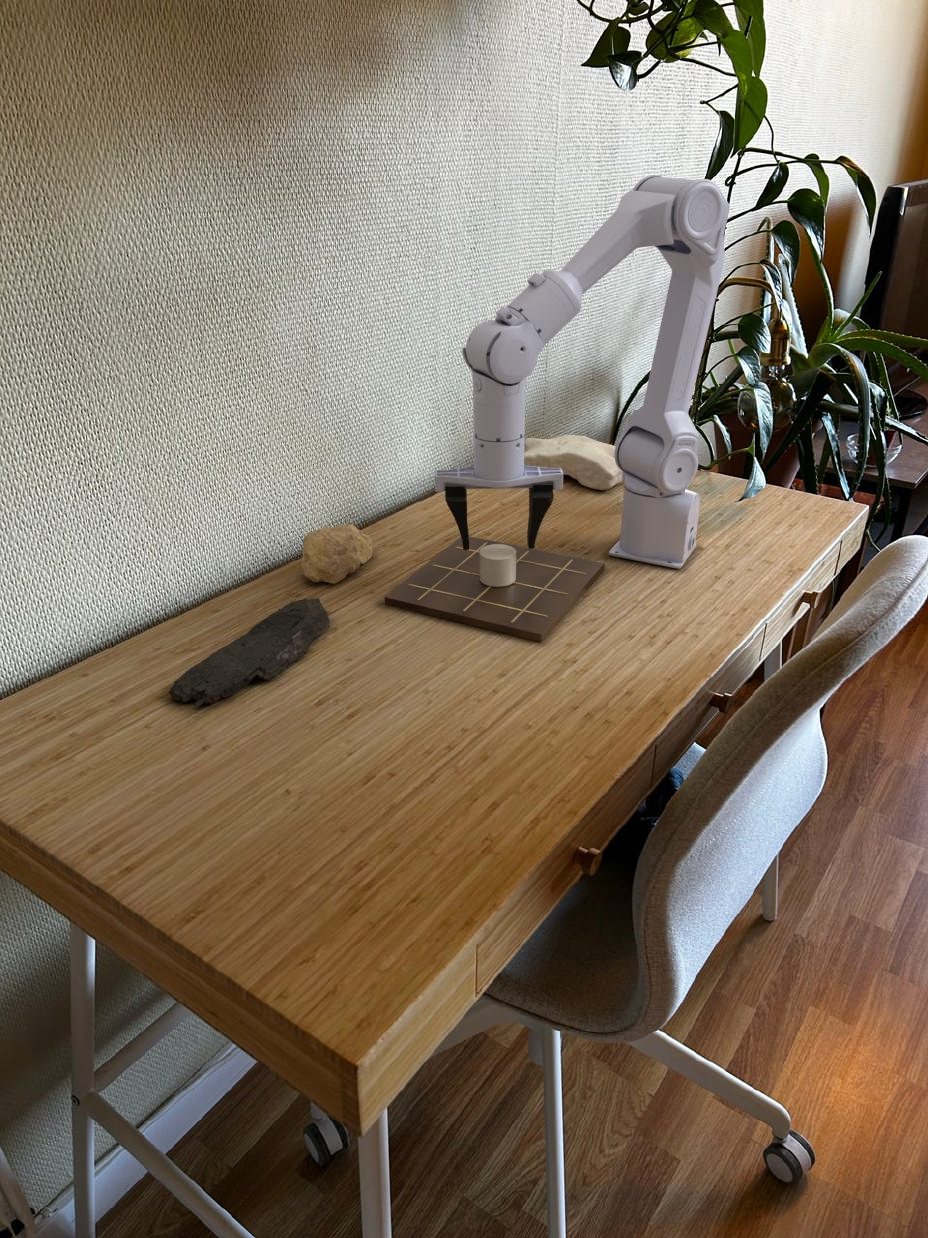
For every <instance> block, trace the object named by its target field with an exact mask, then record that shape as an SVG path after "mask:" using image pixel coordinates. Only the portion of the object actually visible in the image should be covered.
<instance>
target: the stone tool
mask: <svg viewBox="0 0 928 1238" xmlns="http://www.w3.org/2000/svg"><path fill="white" fill-rule="evenodd" d="M373 552H374V550H373V542H372V539H371V537H370V536H369V535H368V534H365V533H363V532H362V531H361V530H360V529H358V527H356V526H355V525H353V524H350V523H349V524H341V525H340V526H333V527H331V526H329V527H323V528H322V529H317V530H313V531H311V532H308V534H306V535H305V536H304V537H303V540H302V550H301V554H302V557H301V562H300V566H301V569H302V570H303V575H304V576H305V577H306V578H307V579H308V580H309V581H312V582H313V583H320V582H324V583H329V584H337V583H339V582H340V581H342V580H344V579H345V578H346V577H347V575H348V574H353V573H356V570H357V569H359V568H361V565H365V564H366V563H367V562H369V560H370V559H371V558H372V557H373Z"/></svg>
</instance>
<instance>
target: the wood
mask: <svg viewBox="0 0 928 1238" xmlns="http://www.w3.org/2000/svg"><path fill="white" fill-rule="evenodd" d="M320 599H321V598H319V597H315V598H302V599H298V600H293V601H290V602H289V603H287V604H286V605H284V606H282V607H281V608H278V610H277V611H274V612H273V613H271V614H269V615H268V616H267V617H265V618H264V619H262V620H261V621H260V622H258V623H256V624H255V625H254V626H253V627H251V628H250V630H249V631H248V632H247V633H245V634H243V635H240V637H238V638H236V639H234V640H233V641H232V642H230V643H228V644H226V645H224V646H222V647H221V648H219V649H217V650H216V651H214V652H213V653H211V654H210V655H209V656H206V658H204V659H202V660H201V661H200V662H199V663H197V664H194V666H192V667H190V668H189V669H187V670H186V671H184V673H183V674H182V675H181V676H179V678H177V679H176V680H174V682H173V685H172V686H171V688H170V689H169V690H168V693H169V695H170V696H171V698H172V699H174V700H175V701H176V702H182V703H183V704H184V703H187V702H188V703H189V702H190V701H193V700H194V701H195V703H194V704H193V705H194V706H193V709H195V710H198V708H199V707H200V706H202V705H204V704H206V705H213V704H215V703H216V702H218V701H220V700H221V699H223V698H226V697H227V698H228V697H231V696H233V695H236V694H237V693H238V692H239V691H241V690H242V689H244V688H245V687H247V686H248V685H249V684H250V683H251V682H252V681H253V680H255V679H257V678H258V679H261V680H263V681H269V680H271V679H274V678H276V677H277V676H278V675H279V674H281V673H282V672H283V671H285V669H286V668H288V667H289V666H290V665H291V664H293V663H294V662H296V661H298V659H300V658H301V657H302V656H303V655H304V654H306V653H307V651H308V650H309V649H308V648H309V647H310V645H311V644H312V643H313V642H314V640H316V638H317V637H318V636H320V635H321V634H322V633H323V632H324V631H326V630H327V629H328V628H330V624H331V620H330V617H329V615H328V611H327V610H326V609H325V607H324V606H323V604H322V603H321V600H320Z"/></svg>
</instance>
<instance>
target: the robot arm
mask: <svg viewBox="0 0 928 1238" xmlns="http://www.w3.org/2000/svg"><path fill="white" fill-rule="evenodd" d="M730 209H731V205H730V203H729V202H728V200H727V199H726V197H725V194H723V192H722V190H721V189H720V187H719V185H718V184H717V183H716V182H714V181H713V180H711V179H707V178H696V179H689V178H676V177H675V178H673V177H664V176H661V175H656V174H652V175H648V176H645V177H643V178H642V179H640V180H639V181H638V182H636V183H635V185H634V187H633V188H632V189H630V190H629V191H627V192H626V193H625V194H623V195H622V196H621V197H620V200H619V203H618V206H617V208H616V210H615V211H614V212H613V214H611V215H610V216H609V218H608V219H606V221H605V222H604V223H603V224H602V225H601V226H600V227H599V228H598V230H596V232H595V233H594V234H593V235H592V236H591V237H590V238H589V239H588V240H587V241H586V242H585V243H584V244H583V246H582V247H581V248H580V249H579V250H578V251H577V252H576V253H575V254H574V255H573V256H572V257H571V258H570V260H569V261H568V262H567V263H566V264H565V265H564V266H563V267H562V268H561V269H560V270H554V269H546V270H543V271H542V272H541V273H538V272H533V274H532V275H531V276H530V277H529V278H528V279H527V283H528V284H529V285H528V286H527V287H526V288H525V289H524V290H522V291H521V292H520V293H519V294H518V295H517V296H516V297H515V298H514V299H513V300H512V301H510V303H509V304H508V305H507V306H506V307H504V306H501V307H500V308H499V309H498V310H497V311H496V313H495V314H496V316H495V318H494V319H489V320H484V321H482V322H480V323H479V324H477V325H476V326H475V327H474V328H473V329H472V330H471V332H470V333H469V335H468V339H467V341H466V344H465V347H462V349H461V352H462V353H461V354H462V358H463V361H464V363H465V365H466V366H467V368H469V369H470V371H471V374H472V399H473V400H472V409H473V410H472V411H473V412H472V415H473V416H472V417H473V418H472V421H473V422H472V423H473V425H472V426H473V429H472V430H473V435H472V436H473V465H472V466H464V467H463V466H462V467H457V468H450V469H436V470H435V471H434V485H435V486H434V487H435V492H436V493H443V492H444V499H445V500H444V501H445V503H446V505H447V507H448V509H449V511H450V513H451V515H452V517H453V518H454V521H455V523H456V525H457V528H458V531H459V534H460V537H461V538H462V543H463V550H469V535H470V533H469V525H468V492H467V490H487V489H488V490H495V489H497V490H498V489H500V490H502V489H503V490H505V489H528V521H527V531H526V542H527V548H529V549H535V548H536V547H535V546H536V542H537V536H538V534H539V530H540V527H541V525H542V522H543V520H544V518H545V516H546V514H547V513H548V511H549V509H550V507H551V506H552V504H553V501H554V498H555V495H554V493H555V492H554V491H555V490H556V491H557V490H559V491H561V490H563V488H564V475H563V472H562V469H561V468H545V467H535V466H526V465H524V452H525V445H524V440H525V439H526V438H525V435H526V434H525V430H526V428H525V427H526V426H525V425H526V380H527V379H526V378H527V377H530V376H531V375H532V373H533V372H534V370H535V368H536V365H537V363H538V358H539V355H540V353H541V352H542V351H543V350H544V347H545V346H546V345H547V344H548V343H549V342H550V341H551V340H552V339H553V338H554V337H555V336H556V335H557V334H558V333H559V332H561V331H562V329H564V327H566V326H567V325H568V324H569V323H570V322H571V321H572V320H573V319H574V318H575V317H576V316H577V315H579V313H580V312H581V308H582V297H583V294H585V293H586V292H587V291H588V290H589V289H590V288H592V287H593V286H594V285H595V284H596V283H598V282H599V281H600V280H601V279H602V278H604V276H607V274H609V272H611V271H612V270H613V269H614V268H615V267H616V266H618V265H619V264H620V263H622V261H623V260H625V259H626V258H627V257H629V255H631V254H632V253H633V252H634V251H635V250H637V249H639V248H649V247H654V248H656V249H657V250H658V251H659V252H660V254H661V256H662V258H664V260H665V262H666V263H667V265H668V266H669V267H670V269H671V276H670V280H669V285H668V289H667V294H666V299H665V303H664V306H663V312H662V316H661V321H660V326H659V331H658V335H657V340H656V344H655V349H654V352H653V358H652V363H651V367H650V370H649V371H650V372H649V376H648V381H647V385H646V390H645V394H644V399H643V404H642V406H640V407H639V408H638V409H636V410H634V411H633V412H632V413H631V414H629V415H628V416H627V420H626V424H625V428H624V430H623V431H622V433H621V435H620V436H619V438H618V440H617V441H616V444H615V446H616V447H615V453H614V457H615V462H616V465H617V466H618V468H619V469H620V470H621V471H623V473H622V480H623V481H622V482H624V483H623V484H624V485H623V495H622V511H621V521H620V524H621V525H620V534H619V535H620V536H619V539H618V541H617V542H616V543H615V544H614V545H613V546H612V548H611V549H610V550H609V551H608V555H609V556H611V557H616V558H620V559H621V558H622V559H626V560H632V561H636V562H641V563H646V564H650V565H651V564H652V565H657V566H661V567H668V568H672V569H681V568H682V567H683V565H684V564H685V563H686V562H687V559H689V557H690V556H691V555H692V553H693V552H694V550H695V549H696V547H697V542H696V541H697V534H698V533H697V532H698V524H699V517H700V507H701V495H700V494H699V493H698V492H695V491H692V490H689V489H687V488H688V487H689V486H690V485H691V483H692V482H693V481H694V479H695V477H696V475H697V472H698V469H699V456H698V455H699V454H698V444H699V439H700V434H699V432H698V430H697V428H696V426H695V425H694V422H693V421H692V419H691V417H690V415H689V411H690V408H691V407H690V406H691V403H692V399H693V394H694V391H695V386H696V382H697V377H698V373H699V369H700V365H701V361H702V356H703V353H704V349H705V343H706V340H707V336H708V332H709V328H710V324H711V319H712V316H713V311H714V307H715V302H716V300H717V299H716V298H717V294H718V290H719V286H720V283H721V282H720V281H721V277H722V274H723V273H722V272H723V270H724V266H725V258H726V257H725V255H726V254H725V253H726V252H725V237H724V235H725V231H726V226H727V222H728V218H729V214H730Z"/></svg>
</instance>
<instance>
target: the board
mask: <svg viewBox="0 0 928 1238" xmlns="http://www.w3.org/2000/svg"><path fill="white" fill-rule="evenodd" d="M493 544H503V545H508V546H511V547H513V548H514V549H515V550H516V580H515V582H514V583H512V584H510V585H507V586H502V587H493V586H488V585H485V584H483V583H482V582H481V581H480V571H479V551H480V549H481V548H483V547H485V546H488V545H493ZM605 565H606V564H605V562H601V561H596V560H590V559H586V558H581V557H576V556H570V555H565V554H561V553H555V552H551V551H545V550H542V549H541V550H540V549H537V548H536V549H535V548H534V549H529V548H528V547H525V546H520V545H515V544H509V543H504V542H500V541H496V540H495V541H494V540H489V539H485V538H480V537H475V536H469V550H463V543H462V538H461V536H460V537H459V538H457V540H455V541H454V542H453V543H451V544H450V545H448V546H447V547H446V548H445V549H444V550H442V551H441V552H440V553H438V554H437V555H436V556H435V557H433V558H432V559H430V561H428V562H427V563H426V564H424V565H423V566H422V567H421V568H419V569H418V570H417V571H415V572H414V573H412V575H410V576H409V577H408V578H406V579H405V580H404V581H403V582H402V583H400V584H399V585H398V586H396V587H395V588H394V589H393V590H391V591H390V592H389V593H387V594H386V595H385V596H384V597H383V598H384V605H387V606H391V607H395V608H399V609H402V610H407V611H411V612H415V613H419V614H424V615H427V616H432V617H435V618H440V619H445V620H449V621H451V622H452V621H453V622H457V623H460V624H465V625H469V626H473V627H476V628H480V629H485V630H489V631H493V632H498V633H502V634H506V635H509V636H514V637H518V638H522V639H525V640H529V641H534V642H538V643H542V642H543V641H544V640H545V639H546V637H547V636H549V634H550V633H551V632H552V631H553V630H554V628H555V627H556V626H557V625H558V624H559V623H560V622H561V620H563V618H564V617H565V616H566V615H567V613H568V612H569V611H570V610H571V609H572V608H573V607H574V605H576V603H577V602H578V601H579V599H581V598H582V596H583V595H584V594H585V593H586V592H587V591H588V589H589V588H590V587H591V586H592V584H594V582H595V581H596V580H597V579H598V578H599V577H600V576H601V574H602V573H603V572H604V571H605Z"/></svg>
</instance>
